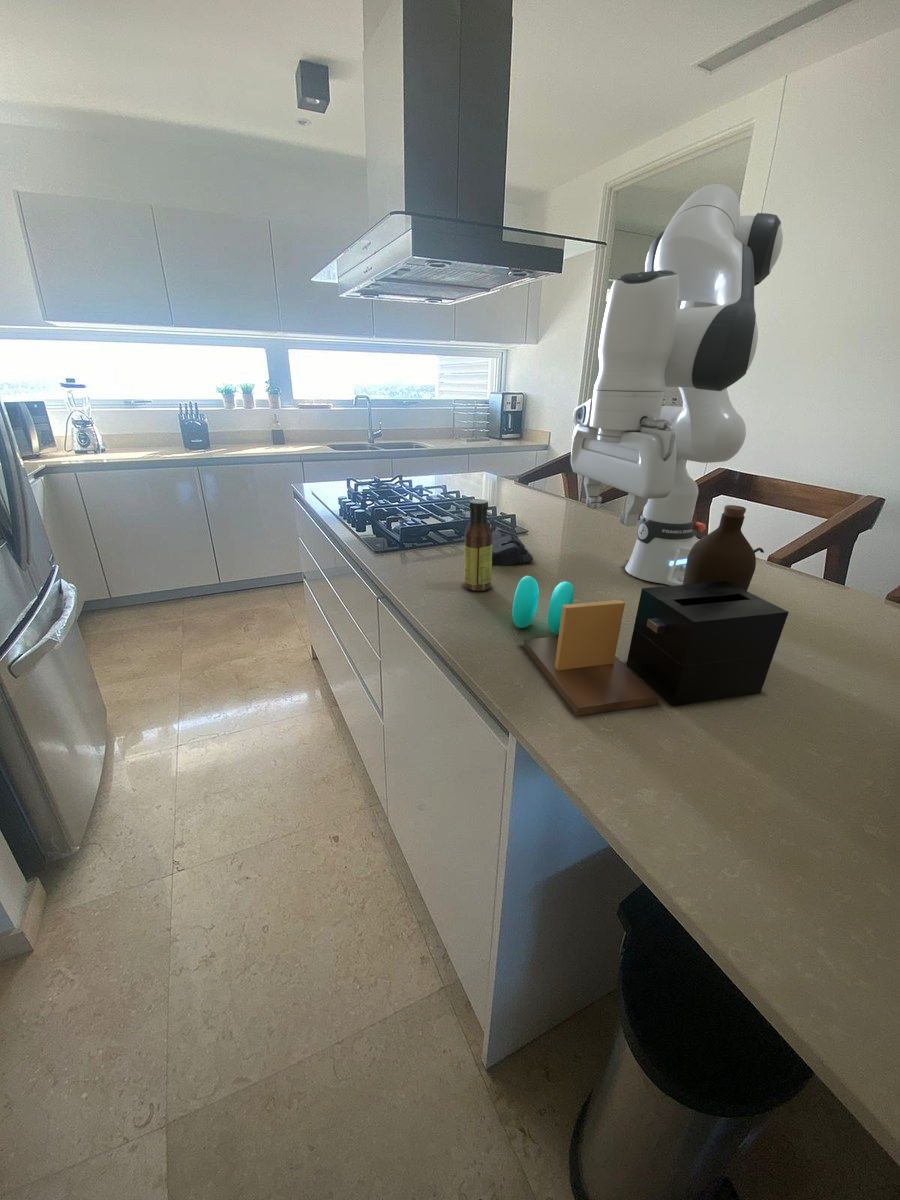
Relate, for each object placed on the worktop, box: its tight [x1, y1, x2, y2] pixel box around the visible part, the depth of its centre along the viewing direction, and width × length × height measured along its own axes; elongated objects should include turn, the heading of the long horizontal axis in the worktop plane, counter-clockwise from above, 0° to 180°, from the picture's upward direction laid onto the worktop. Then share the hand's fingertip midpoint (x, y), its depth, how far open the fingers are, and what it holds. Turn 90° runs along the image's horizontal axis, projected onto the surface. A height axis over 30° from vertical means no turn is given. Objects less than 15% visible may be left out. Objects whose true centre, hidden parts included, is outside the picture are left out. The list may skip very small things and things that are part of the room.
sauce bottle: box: [463, 498, 493, 592], centre depth 107 cm, size 7×6×20 cm
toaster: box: [625, 581, 790, 707], centre depth 76 cm, size 18×12×14 cm
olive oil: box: [683, 504, 757, 592], centre depth 86 cm, size 11×11×25 cm
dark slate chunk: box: [492, 529, 534, 566], centre depth 134 cm, size 15×22×5 cm
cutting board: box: [523, 635, 659, 717], centre depth 79 cm, size 13×20×2 cm, turn 14°
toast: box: [555, 599, 626, 670], centre depth 76 cm, size 10×1×11 cm, turn 104°
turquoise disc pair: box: [511, 575, 575, 636], centre depth 91 cm, size 10×10×10 cm
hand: (609, 516), depth 70 cm, fingers open, 8 cm apart
